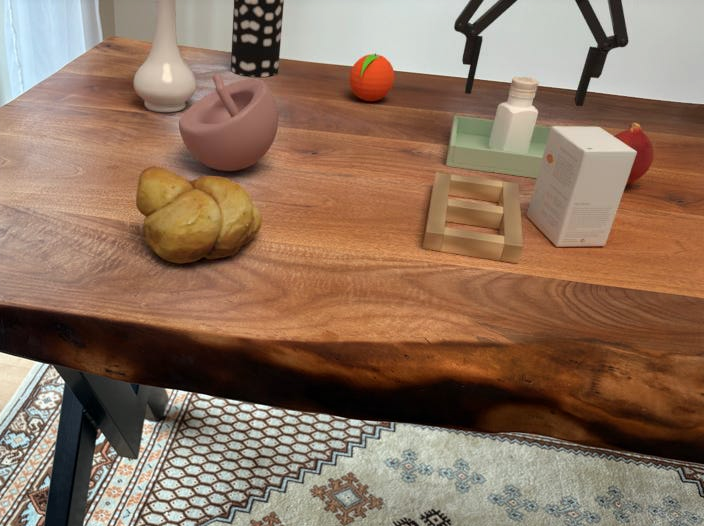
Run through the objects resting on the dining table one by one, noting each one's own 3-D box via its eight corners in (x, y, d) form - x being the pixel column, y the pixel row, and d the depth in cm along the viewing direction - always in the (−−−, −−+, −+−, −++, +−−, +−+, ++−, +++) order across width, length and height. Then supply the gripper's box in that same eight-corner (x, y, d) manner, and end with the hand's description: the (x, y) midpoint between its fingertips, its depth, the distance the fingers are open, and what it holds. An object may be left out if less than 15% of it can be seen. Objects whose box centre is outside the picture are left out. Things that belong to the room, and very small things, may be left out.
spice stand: (514, 199, 92) (518, 183, 90) (518, 264, 78) (523, 246, 77) (432, 187, 94) (435, 171, 92) (422, 248, 80) (426, 231, 79)
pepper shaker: (511, 146, 105) (530, 75, 100) (527, 157, 102) (548, 84, 96) (485, 148, 104) (503, 76, 99) (501, 158, 101) (520, 84, 96)
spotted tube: (243, 78, 130) (250, -56, 118) (223, 66, 136) (228, -63, 124) (286, 75, 133) (298, -56, 121) (265, 62, 139) (273, -63, 127)
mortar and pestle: (171, 152, 100) (171, 60, 93) (260, 149, 102) (267, 59, 95) (187, 188, 90) (188, 89, 84) (285, 184, 92) (294, 87, 86)
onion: (623, 177, 99) (645, 115, 94) (650, 195, 94) (675, 130, 90) (582, 178, 98) (602, 115, 94) (608, 196, 93) (630, 131, 89)
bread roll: (245, 221, 83) (250, 149, 79) (282, 261, 76) (289, 184, 72) (130, 235, 79) (128, 160, 75) (157, 279, 72) (156, 199, 68)
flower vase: (239, 116, 113) (250, -78, 99) (114, 122, 108) (106, -81, 94) (216, 91, 123) (223, -89, 109) (101, 95, 119) (92, -92, 104)
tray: (561, 148, 107) (567, 129, 105) (568, 183, 97) (575, 161, 95) (450, 134, 110) (454, 115, 109) (445, 166, 100) (450, 145, 98)
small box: (605, 248, 82) (639, 151, 76) (554, 248, 81) (585, 151, 75) (571, 216, 88) (600, 125, 82) (524, 216, 88) (550, 124, 82)
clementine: (377, 111, 118) (385, 63, 114) (336, 102, 121) (342, 55, 116) (396, 99, 123) (404, 53, 119) (357, 91, 126) (363, 45, 122)
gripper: (456, -99, 86) (421, 93, 98) (698, -84, 81) (630, 117, 93) (458, -104, 92) (425, 78, 104) (684, -90, 87) (621, 100, 99)
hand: (522, 97), depth 99 cm, fingers open, 13 cm apart
